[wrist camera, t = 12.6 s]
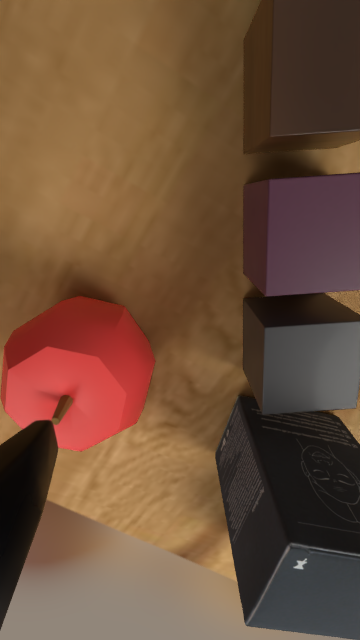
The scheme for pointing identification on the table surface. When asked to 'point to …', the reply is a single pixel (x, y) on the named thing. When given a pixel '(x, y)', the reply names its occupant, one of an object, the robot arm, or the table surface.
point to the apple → (78, 371)
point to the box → (293, 518)
